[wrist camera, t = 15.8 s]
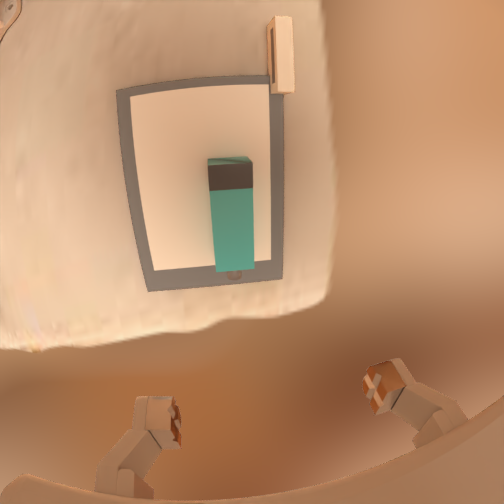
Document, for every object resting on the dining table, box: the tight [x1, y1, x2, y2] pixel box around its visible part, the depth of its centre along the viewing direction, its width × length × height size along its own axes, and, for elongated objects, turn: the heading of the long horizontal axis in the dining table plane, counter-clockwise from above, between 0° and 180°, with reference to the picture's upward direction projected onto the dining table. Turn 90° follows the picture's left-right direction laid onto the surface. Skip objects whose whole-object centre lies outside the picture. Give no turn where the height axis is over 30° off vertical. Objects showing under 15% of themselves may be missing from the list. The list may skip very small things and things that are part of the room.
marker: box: [208, 156, 255, 281], centre depth 30 cm, size 13×4×4 cm, turn 1°
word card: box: [267, 16, 295, 94], centre depth 23 cm, size 8×2×4 cm, turn 2°
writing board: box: [116, 75, 284, 292], centre depth 30 cm, size 24×17×1 cm
